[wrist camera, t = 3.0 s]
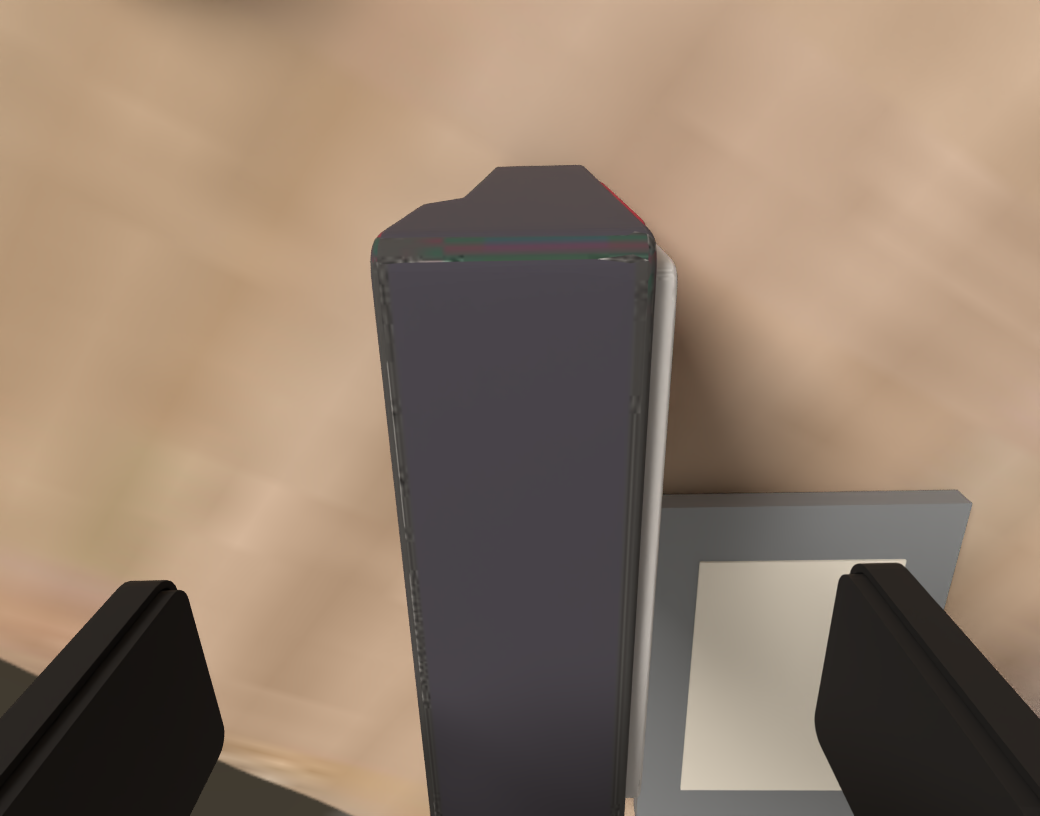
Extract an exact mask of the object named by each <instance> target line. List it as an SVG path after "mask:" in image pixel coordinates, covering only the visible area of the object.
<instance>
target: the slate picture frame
mask: <svg viewBox="0 0 1040 816" xmlns="http://www.w3.org/2000/svg"><path fill="white" fill-rule="evenodd" d="M971 507H972V502H970V501H969V500H968V499H967V498H966V497H965V496H964V495H962V494H961V493H960V492H959V491H958V490H917V491H855V492H794V493H732V494H670V495H662V508H661V522H660V535H659V549H658V563H657V577H656V591H655V604H654V618H653V632H652V646H651V660H650V673H649V687H648V701H647V715H646V728H645V742H644V756H643V770H642V782H641V791H640V795H639V796H638V797H637V798H634V811H635V816H854V815H853V812H852V810H851V808H850V806H849V804H848V802H847V800H846V798H845V796H844V794H843V792H842V790H841V788H840V786H839V783H838V781H837V779H836V777H835V775H834V773H833V771H832V769H831V767H830V765H829V763H828V761H827V759H826V756H825V754H824V752H823V750H822V748H821V746H820V744H819V741H818V738H817V735H816V730H815V722H814V717H815V710H816V704H817V698H818V693H819V687H820V681H821V676H822V670H823V664H824V659H825V653H826V647H827V642H828V636H829V631H830V625H831V619H832V614H833V608H834V602H835V597H836V591H837V585H838V581H839V578H840V577H841V576H842V575H844V574H850V571H851V569H852V567H853V566H854V565H855V564H858V563H900V564H902V565H903V566H905V567H906V568H907V569H908V570H909V571H910V573H911V574H912V575H913V576H914V577H915V578H916V579H917V580H918V582H919V583H920V584H921V585H922V586H923V587H924V588H925V590H926V591H927V592H928V593H929V594H930V595H931V596H932V598H933V599H934V600H935V601H936V602H937V603H938V604H939V605H940V607H941V608H942V609H943V610H944V607H945V603H946V600H947V596H948V592H949V589H950V585H951V581H952V577H953V574H954V570H955V566H956V563H957V559H958V555H959V551H960V548H961V544H962V540H963V537H964V533H965V529H966V525H967V522H968V518H969V514H970V511H971Z"/></svg>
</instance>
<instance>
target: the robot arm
mask: <svg viewBox="0 0 1040 816" xmlns="http://www.w3.org/2000/svg"><path fill="white" fill-rule="evenodd" d="M814 722H815V730H816V735H817V738H818V741H819V744H820V746H821V748H822V750H823V752H824V754H825V756H826V759H827V761H828V763H829V765H830V767H831V769H832V771H833V773H834V775H835V777H836V779H837V781H838V783H839V786H840V788H841V790H842V792H843V794H844V796H845V798H846V800H847V802H848V804H849V806H850V808H851V810H852V812H853V815H854V816H1040V719H1039V718H1038V717H1037V715H1036V714H1035V713H1034V712H1033V711H1032V710H1031V709H1030V708H1029V706H1028V705H1027V704H1026V703H1025V702H1024V701H1023V700H1022V698H1021V697H1020V696H1019V695H1018V694H1017V693H1016V692H1015V690H1014V689H1013V688H1012V687H1011V686H1010V685H1009V684H1008V683H1007V681H1006V680H1005V679H1004V678H1003V677H1002V676H1001V675H1000V673H999V672H998V671H997V670H996V669H995V668H994V667H993V666H992V664H991V663H990V662H989V661H988V660H987V659H986V658H985V656H984V655H983V654H982V653H981V652H980V651H979V650H978V649H977V647H976V646H975V645H974V644H973V643H972V642H971V641H970V639H969V638H968V637H967V636H966V635H965V634H964V633H963V632H962V630H961V629H960V628H959V627H958V626H957V625H956V624H955V622H954V621H953V620H952V619H951V618H950V617H949V616H948V615H947V613H946V612H945V611H944V610H943V609H942V608H941V607H940V605H939V604H938V603H937V602H936V601H935V600H934V599H933V598H932V596H931V595H930V594H929V593H928V592H927V591H926V590H925V588H924V587H923V586H922V585H921V584H920V583H919V582H918V580H917V579H916V578H915V577H914V576H913V575H912V574H911V573H910V571H909V570H908V569H907V568H906V567H905V566H903V565H902V564H900V563H858V564H855V565H854V566H853V567H852V569H851V571H850V574H844V575H842V576H841V577H840V578H839V581H838V585H837V591H836V597H835V602H834V608H833V614H832V619H831V625H830V631H829V636H828V642H827V647H826V653H825V659H824V664H823V670H822V676H821V681H820V687H819V693H818V698H817V704H816V710H815V717H814ZM223 742H224V725H223V722H222V718H221V714H220V711H219V707H218V703H217V700H216V696H215V693H214V689H213V685H212V682H211V678H210V675H209V671H208V667H207V664H206V660H205V657H204V653H203V649H202V646H201V642H200V639H199V635H198V631H197V628H196V624H195V621H194V617H193V613H192V610H191V606H190V602H189V599H188V596H187V594H186V593H185V592H184V591H182V590H177V588H176V586H175V585H174V584H173V582H172V581H168V580H153V581H129V582H125V583H124V584H123V585H121V586H120V587H119V588H118V589H117V590H116V591H115V592H114V593H113V595H112V596H111V597H110V598H109V599H108V600H107V601H106V602H105V603H104V605H103V606H102V607H101V608H100V609H99V610H98V611H97V612H96V613H95V614H94V616H93V617H92V618H91V619H90V620H89V621H88V622H87V623H86V624H85V625H84V627H83V628H82V629H81V630H80V631H79V632H78V633H77V634H76V635H75V637H74V638H73V639H72V640H71V641H70V642H69V643H68V644H67V645H66V646H65V648H64V649H63V650H62V651H61V652H60V653H59V654H58V655H57V656H56V657H55V659H54V660H53V661H52V662H51V663H50V664H49V665H48V666H47V667H46V669H45V670H44V671H43V672H42V673H41V674H40V675H39V676H38V677H37V678H36V680H35V681H34V682H33V683H32V684H31V685H30V686H29V687H28V688H27V689H26V691H25V692H24V693H23V694H22V695H21V696H20V697H19V698H18V699H17V701H16V702H15V703H14V704H13V705H12V706H11V707H10V708H9V709H8V710H7V712H6V713H5V714H4V715H3V716H2V717H1V718H0V816H190V814H191V812H192V810H193V808H194V806H195V804H196V802H197V800H198V798H199V796H200V794H201V792H202V790H203V788H204V785H205V784H206V782H207V780H208V778H209V776H210V774H211V772H212V770H213V768H214V766H215V764H216V762H217V760H218V758H219V756H220V753H221V751H222V747H223Z"/></svg>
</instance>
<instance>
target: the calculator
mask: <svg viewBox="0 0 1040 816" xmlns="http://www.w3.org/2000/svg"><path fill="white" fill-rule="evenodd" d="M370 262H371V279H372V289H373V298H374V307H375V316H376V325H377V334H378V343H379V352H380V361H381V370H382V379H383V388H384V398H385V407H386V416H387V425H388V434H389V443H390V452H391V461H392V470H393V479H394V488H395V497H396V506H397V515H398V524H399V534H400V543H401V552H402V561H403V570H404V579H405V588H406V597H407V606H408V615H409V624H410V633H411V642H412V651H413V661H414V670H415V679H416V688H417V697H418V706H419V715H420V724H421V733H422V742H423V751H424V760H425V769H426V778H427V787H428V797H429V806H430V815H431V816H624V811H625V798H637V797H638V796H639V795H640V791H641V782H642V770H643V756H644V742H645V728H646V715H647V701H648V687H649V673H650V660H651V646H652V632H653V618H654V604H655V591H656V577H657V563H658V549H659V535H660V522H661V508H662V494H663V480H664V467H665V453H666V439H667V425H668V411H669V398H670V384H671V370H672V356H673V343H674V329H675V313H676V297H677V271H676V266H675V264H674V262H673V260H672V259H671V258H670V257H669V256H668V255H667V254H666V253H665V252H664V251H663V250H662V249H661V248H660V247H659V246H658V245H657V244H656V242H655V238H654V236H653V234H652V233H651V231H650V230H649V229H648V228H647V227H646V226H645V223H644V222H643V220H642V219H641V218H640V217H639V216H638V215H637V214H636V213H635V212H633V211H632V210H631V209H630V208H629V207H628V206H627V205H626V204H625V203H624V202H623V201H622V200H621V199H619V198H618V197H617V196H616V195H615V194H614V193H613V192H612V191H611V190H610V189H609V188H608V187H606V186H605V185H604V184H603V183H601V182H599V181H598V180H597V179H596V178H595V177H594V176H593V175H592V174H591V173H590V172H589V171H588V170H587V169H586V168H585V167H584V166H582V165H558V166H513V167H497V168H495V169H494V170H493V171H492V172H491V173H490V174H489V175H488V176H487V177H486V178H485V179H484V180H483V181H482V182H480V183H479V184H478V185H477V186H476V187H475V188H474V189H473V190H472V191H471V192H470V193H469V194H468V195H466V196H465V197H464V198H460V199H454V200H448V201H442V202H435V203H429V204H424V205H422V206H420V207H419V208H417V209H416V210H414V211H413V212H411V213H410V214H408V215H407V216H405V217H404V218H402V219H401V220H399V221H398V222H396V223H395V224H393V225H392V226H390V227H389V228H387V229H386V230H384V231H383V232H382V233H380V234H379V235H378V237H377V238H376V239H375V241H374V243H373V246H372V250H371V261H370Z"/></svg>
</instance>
